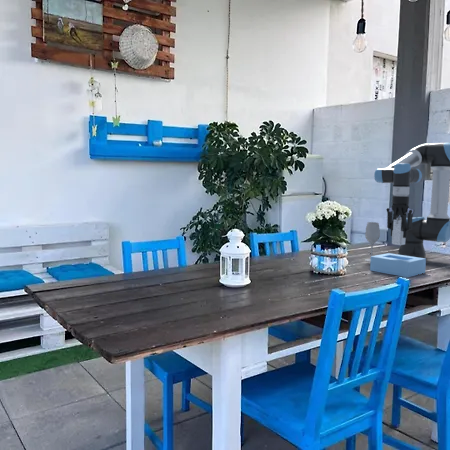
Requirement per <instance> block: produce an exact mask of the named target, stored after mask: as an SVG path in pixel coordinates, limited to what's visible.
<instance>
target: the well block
mask: <svg viewBox="0 0 450 450" xmlns="http://www.w3.org/2000/svg"><path fill="white" fill-rule="evenodd" d="M370 258H371V262H369V263H370V269H369V271H372V272H376V273H377V272H378V273H383V274H388V275H395V276H399V277H405V278H410V277H416V276H417V275H418V274H419V275H421V274H422V273H423V274H425V273H426V264H427V258H418V257H412V256H405V255H398V253H397V254H395V253H391V252H387V253H383V254H382V253H381V254H376V255H372V256H371V255H370Z"/></svg>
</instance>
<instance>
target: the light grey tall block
mask: <svg viewBox="0 0 450 450" xmlns="http://www.w3.org/2000/svg"><path fill="white" fill-rule="evenodd" d="M402 230H403V226H402V219H401V217H398V218H397V220H394V223H393V244H392V245H395V246H401V231H402Z"/></svg>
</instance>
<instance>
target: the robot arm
mask: <svg viewBox="0 0 450 450" xmlns="http://www.w3.org/2000/svg"><path fill="white" fill-rule="evenodd" d="M419 165H430V169H431V170H432V180H431V184H432V185H431V198H430V210H429V211H430V212H429V214H428V215H426V219H425V217H424V216H417V217H415V216H414V214H415V209H411V208H410V205H409V203H410V196H409V195H410V185H411V184H417V183H419V182H421V180H422V178H423V174H422V171H421V170H420V169H419V168H416V167H418V166H419ZM373 177H374V180H375V182H376V183H379V184H380V183H381V184H392V195H393V196H392V200H391V201H392V202H391V203H392V205H391V207H388V208H386V212H387V217H386V218H387V223H386V225H387V226H386V228H387V229H389V230H390V236H391V244H392V245H394V244H393V223H394V220H397V218H401V219H402V226H403V230H402V231H401V245H399V247H398V248H399V249H398V252H397V254H398V255H405V256H412V257H418V258H425V259H427V254H426V251H425V250H426V249H425V246H424V241H426V242H427V241H428V242H437V243H446V242H447V243H448V241H450V216H449V215H448V210H449V209H448V207H449V196H450V195H449V194H450V193H449V192H450V142H445V141H444V142H432V143H431V142H430V143H422V144H419V145H417V146H415V147H412V148H411V149H409V150H407V151H406V153H405V154H404V156H402V157H400V158H399V159H397V160H396V161H393V162H392V163H390V164H389V165H388V166H386V167H380V168H376V169H375V171H374V175H373Z"/></svg>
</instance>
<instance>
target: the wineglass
mask: <svg viewBox="0 0 450 450" xmlns="http://www.w3.org/2000/svg"><path fill="white" fill-rule="evenodd" d="M364 234H365V235H364V236H365V239H366V241H367V242H368V243H369V244H370V248H371V249H370V250H371V251H370V257H369V258H366V259H364V261H365V262H369V263H370V262H371V256H373V249H374V248H373V247H374V244H376V243H377V242H378V241H379V240H380V237H381V232H380V223H379V222H373V221H371V222H369V221H368V222H367V223H366V227H365V233H364Z"/></svg>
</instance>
